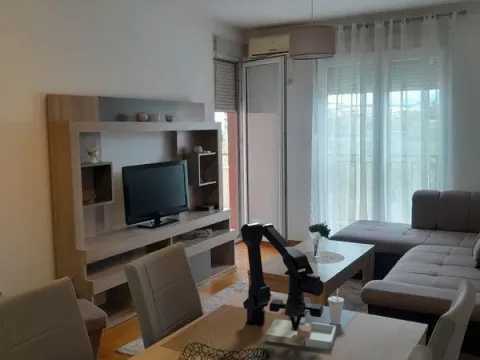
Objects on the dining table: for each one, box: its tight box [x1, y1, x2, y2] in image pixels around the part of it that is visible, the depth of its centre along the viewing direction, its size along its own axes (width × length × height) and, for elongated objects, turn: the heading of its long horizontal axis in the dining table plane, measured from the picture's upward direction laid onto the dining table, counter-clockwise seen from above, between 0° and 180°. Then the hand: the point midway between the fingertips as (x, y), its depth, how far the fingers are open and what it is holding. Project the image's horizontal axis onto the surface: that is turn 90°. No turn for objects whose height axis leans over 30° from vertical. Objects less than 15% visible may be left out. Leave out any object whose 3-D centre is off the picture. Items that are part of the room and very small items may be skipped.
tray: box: [304, 322, 337, 351], centre depth 181 cm, size 9×15×3 cm, turn 162°
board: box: [264, 318, 312, 347], centre depth 185 cm, size 14×15×2 cm
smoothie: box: [327, 287, 345, 325], centre depth 196 cm, size 6×6×14 cm
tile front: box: [297, 325, 312, 338], centre depth 179 cm, size 4×4×2 cm
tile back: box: [292, 317, 307, 328], centre depth 187 cm, size 4×4×2 cm
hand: (295, 330), depth 180 cm, fingers closed
